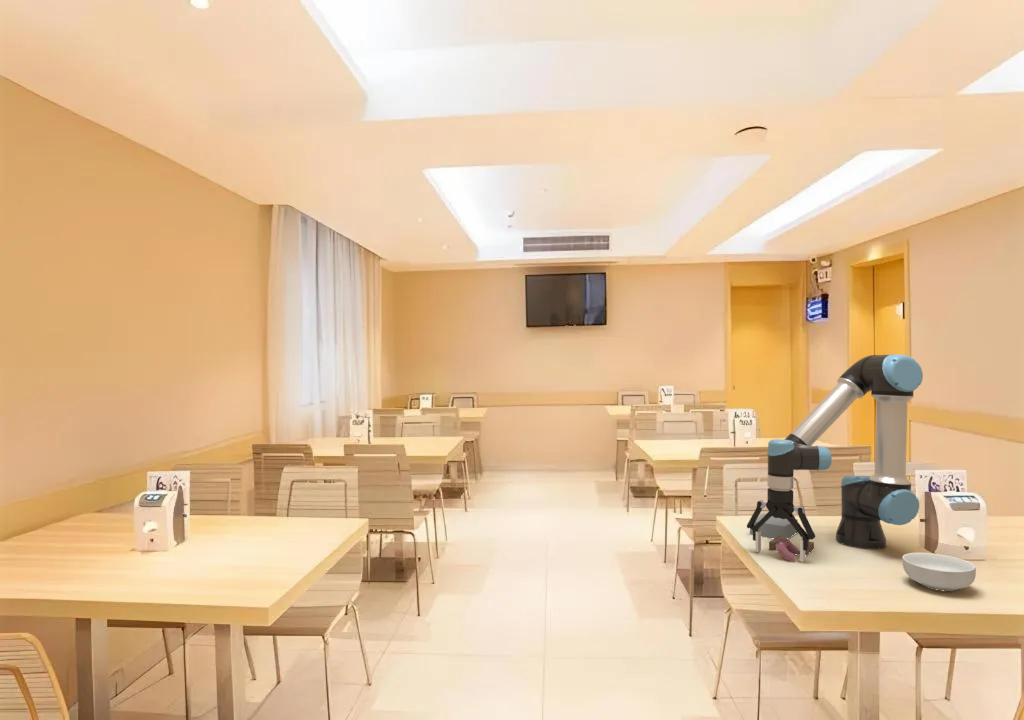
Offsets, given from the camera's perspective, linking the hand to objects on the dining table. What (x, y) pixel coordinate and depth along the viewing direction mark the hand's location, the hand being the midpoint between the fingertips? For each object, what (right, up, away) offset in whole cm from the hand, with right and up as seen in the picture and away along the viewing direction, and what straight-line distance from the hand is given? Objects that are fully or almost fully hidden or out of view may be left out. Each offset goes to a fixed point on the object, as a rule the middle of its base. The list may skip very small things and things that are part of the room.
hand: (779, 555), depth 193 cm
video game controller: (+3, -1, 0) cm, 3 cm away
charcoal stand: (+10, -1, +27) cm, 29 cm away
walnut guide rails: (+7, -1, +8) cm, 11 cm away
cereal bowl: (+33, -1, -25) cm, 41 cm away
